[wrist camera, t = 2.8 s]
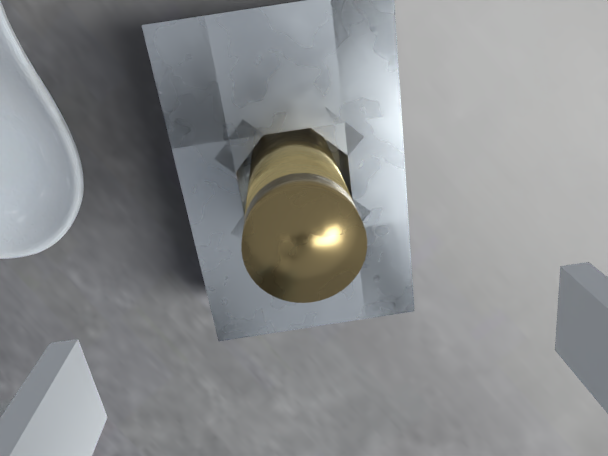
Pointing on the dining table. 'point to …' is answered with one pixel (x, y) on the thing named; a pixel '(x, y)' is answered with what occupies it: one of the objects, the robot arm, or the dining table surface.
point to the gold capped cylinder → (300, 220)
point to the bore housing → (280, 118)
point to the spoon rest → (33, 157)
